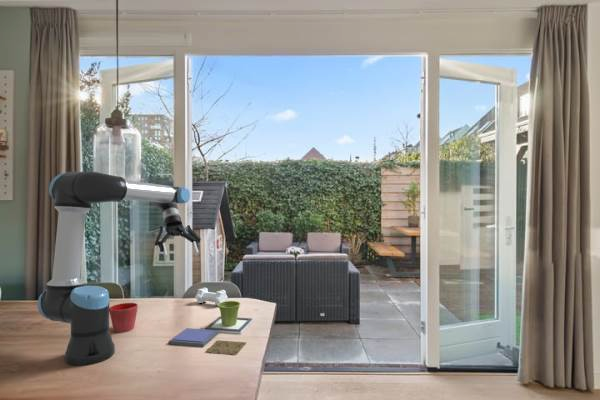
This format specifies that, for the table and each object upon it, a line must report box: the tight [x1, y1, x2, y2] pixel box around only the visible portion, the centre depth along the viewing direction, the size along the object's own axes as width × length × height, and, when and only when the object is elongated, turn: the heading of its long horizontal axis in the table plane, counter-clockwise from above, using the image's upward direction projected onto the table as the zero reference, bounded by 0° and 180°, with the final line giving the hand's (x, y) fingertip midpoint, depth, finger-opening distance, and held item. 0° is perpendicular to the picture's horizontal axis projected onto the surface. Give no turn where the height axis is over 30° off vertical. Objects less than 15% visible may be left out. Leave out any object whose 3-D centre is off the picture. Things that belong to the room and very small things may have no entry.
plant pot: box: [218, 300, 241, 326], centre depth 161 cm, size 9×9×9 cm
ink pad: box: [168, 327, 220, 348], centre depth 147 cm, size 14×14×2 cm
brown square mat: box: [204, 339, 247, 356], centre depth 138 cm, size 12×12×1 cm
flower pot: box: [109, 302, 139, 333], centre depth 157 cm, size 11×11×10 cm
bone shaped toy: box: [195, 287, 228, 307], centre depth 194 cm, size 15×9×8 cm, turn 65°
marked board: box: [204, 315, 254, 335], centre depth 161 cm, size 16×16×1 cm
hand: (181, 255), depth 165 cm, fingers open, 13 cm apart
